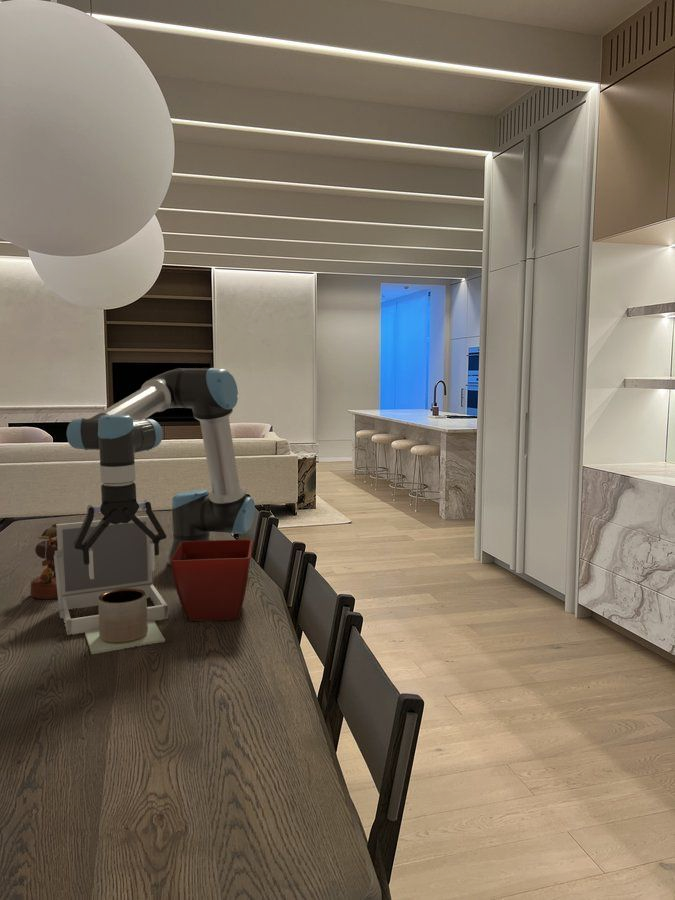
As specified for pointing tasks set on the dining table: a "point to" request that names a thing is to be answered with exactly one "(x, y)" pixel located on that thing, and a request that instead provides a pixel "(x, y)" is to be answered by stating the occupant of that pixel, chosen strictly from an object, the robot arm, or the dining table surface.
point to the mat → (102, 646)
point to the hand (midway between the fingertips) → (122, 573)
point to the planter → (122, 615)
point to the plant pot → (211, 578)
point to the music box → (47, 581)
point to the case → (103, 570)
